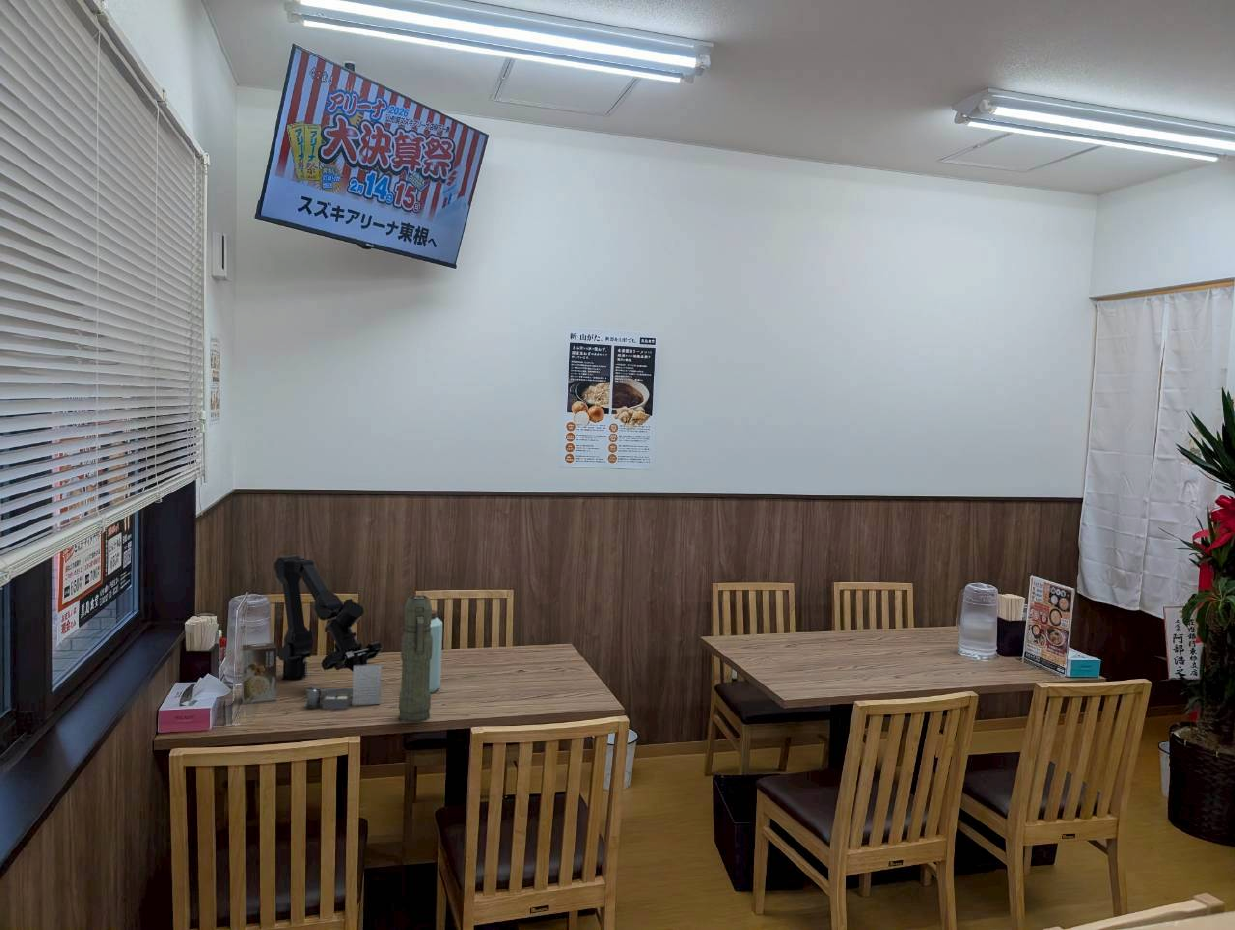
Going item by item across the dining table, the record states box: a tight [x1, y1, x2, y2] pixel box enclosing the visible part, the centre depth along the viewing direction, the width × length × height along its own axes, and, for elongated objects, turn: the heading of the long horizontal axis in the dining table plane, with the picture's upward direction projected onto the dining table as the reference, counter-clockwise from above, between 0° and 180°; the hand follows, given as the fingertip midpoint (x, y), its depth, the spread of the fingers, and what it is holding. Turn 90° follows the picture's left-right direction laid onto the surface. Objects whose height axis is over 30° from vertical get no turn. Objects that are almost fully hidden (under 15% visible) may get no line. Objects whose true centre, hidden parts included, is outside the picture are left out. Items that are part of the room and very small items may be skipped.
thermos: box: [398, 595, 433, 723], centre depth 240 cm, size 9×12×35 cm
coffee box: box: [241, 642, 277, 704], centre depth 249 cm, size 9×6×16 cm
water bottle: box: [429, 609, 443, 694], centre depth 265 cm, size 10×10×25 cm
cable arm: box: [305, 663, 383, 710], centre depth 247 cm, size 21×4×12 cm, turn 107°
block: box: [322, 694, 351, 711], centre depth 246 cm, size 7×4×3 cm, turn 99°
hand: (364, 679), depth 250 cm, fingers closed
